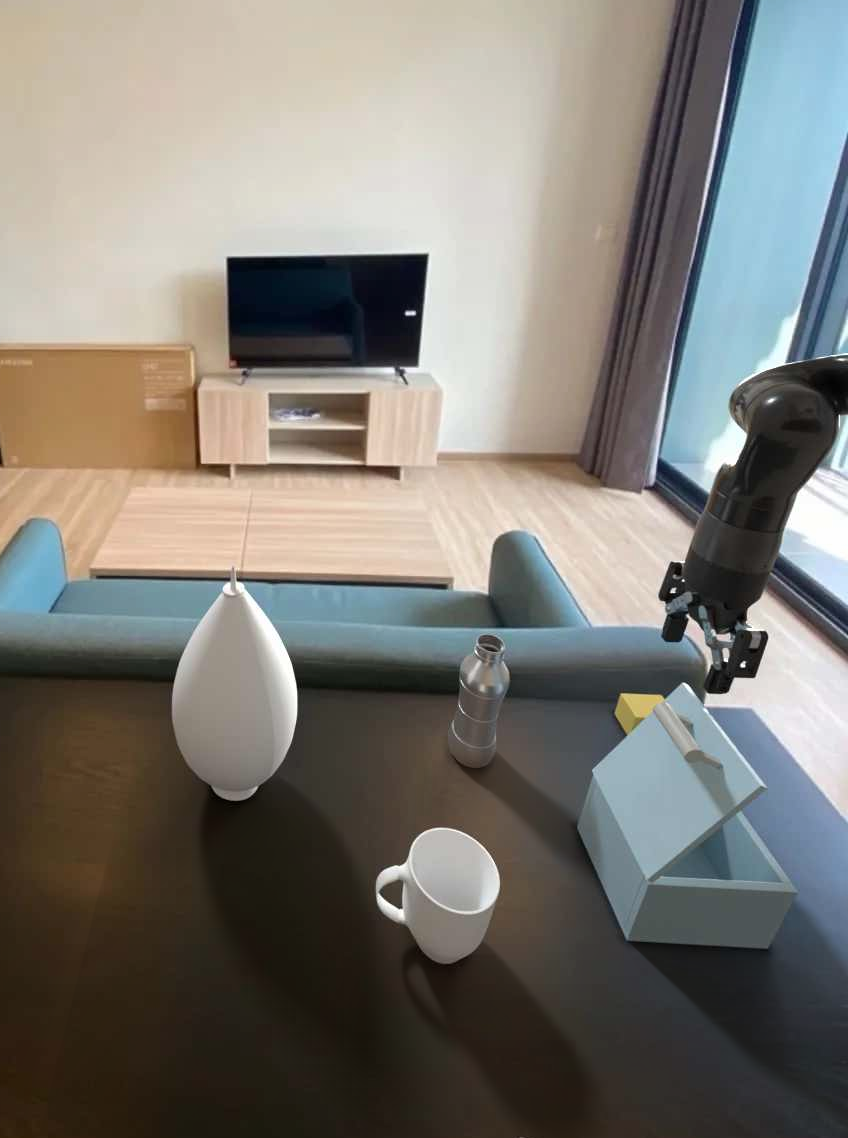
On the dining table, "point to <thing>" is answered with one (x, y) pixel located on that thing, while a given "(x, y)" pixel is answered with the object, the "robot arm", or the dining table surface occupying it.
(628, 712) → the sponge
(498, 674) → the silver metal bottle
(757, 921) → the light blue box
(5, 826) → the dining table surface
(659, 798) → the box lid
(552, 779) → the dining table surface
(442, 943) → the mug
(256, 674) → the lamp
